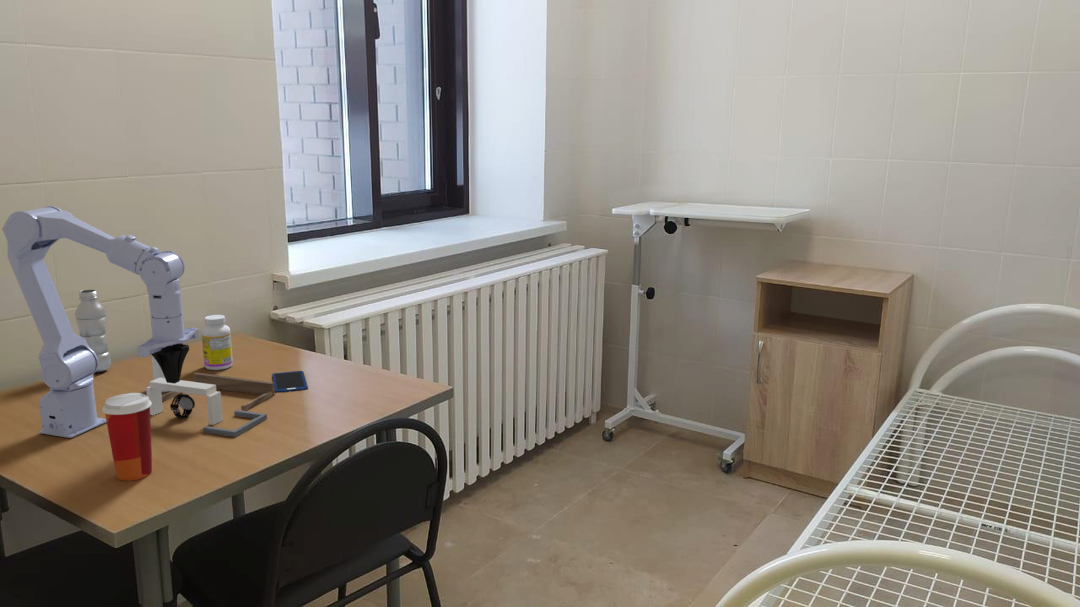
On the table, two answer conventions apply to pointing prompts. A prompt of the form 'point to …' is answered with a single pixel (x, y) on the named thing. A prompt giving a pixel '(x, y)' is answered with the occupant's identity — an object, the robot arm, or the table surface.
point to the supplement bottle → (216, 343)
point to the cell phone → (289, 381)
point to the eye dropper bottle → (157, 371)
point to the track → (234, 387)
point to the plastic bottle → (93, 326)
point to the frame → (233, 433)
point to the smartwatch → (182, 405)
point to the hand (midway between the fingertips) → (173, 382)
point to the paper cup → (130, 434)
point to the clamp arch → (186, 387)
